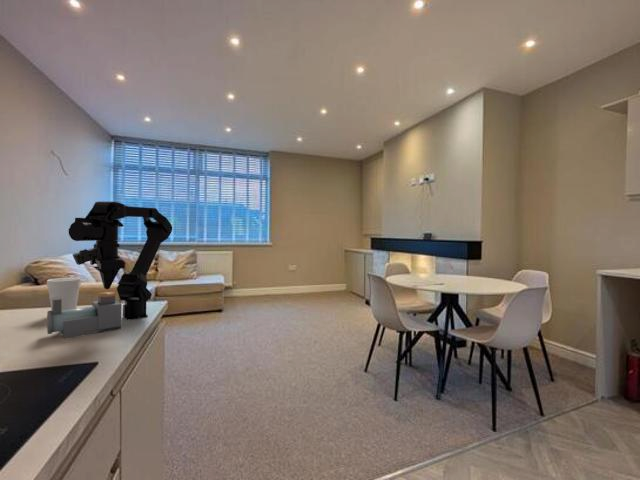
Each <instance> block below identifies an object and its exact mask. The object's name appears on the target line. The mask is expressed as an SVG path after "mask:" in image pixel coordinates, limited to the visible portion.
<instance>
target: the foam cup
mask: <svg viewBox="0 0 640 480" xmlns="http://www.w3.org/2000/svg"><path fill="white" fill-rule="evenodd" d="M81 284H82V278H81V277H73V276H72V277H56V278H49V279H47V280H46V287H47V292H48V297H49V303H50V310H52V298H56V297H60V298H61V299H62V301H61V310H68V309H76V308H77V305H78V301H79V294H80V286H82V285H81Z"/></svg>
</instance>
